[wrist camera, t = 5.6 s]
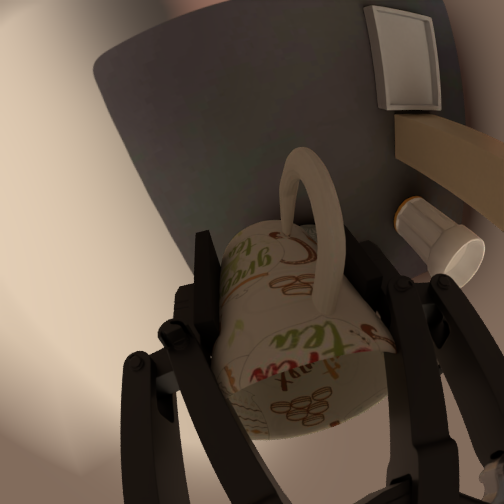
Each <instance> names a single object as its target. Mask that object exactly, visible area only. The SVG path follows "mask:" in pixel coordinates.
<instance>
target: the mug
mask: <svg viewBox="0 0 504 504" xmlns="http://www.w3.org/2000/svg"><path fill="white" fill-rule="evenodd" d="M300 179H301V180H302V182H303V184H304V186H305V188H306V190H307V193H308V196H309V199H310V202H311V206H312V211H313V215H314V220H315V226H316V233H317V242H316V241H315V240H314V239H313V238H312V237H311V236H310V235H309V234H308V233H307V232H306V231H305V230H304V229H302V228H301V227H299V226H298V225H296V224H293V220H294V211H295V202H296V195H297V190H298V184H299V180H300ZM279 194H280V211H281V220H268V221H262V222H258V223H255V224H253V225H251V226H248V227H247V228H245V229H243V230H242V231H240V232H239V233H238V234H237V235H236V236H235V237H234V238H233V239H232V240H231V241H230V242H229V244H228V246H227V247H226V249H225V252H224V254H223V258H222V264H221V271H220V286H219V331H220V335H219V337H218V338H217V340H216V342H215V344H214V346H213V349H212V355H211V366H210V368H211V370H212V372H213V373H214V375H215V377H216V380H217V382H218V385H219V387H220V389H221V391H222V394H223V396H224V398H225V399H227V398H229V400H230V402H231V404H232V405H233V407H234V409H235V411H236V413H237V415H238V417H239V419H240V420H241V422H242V424H243V426H244V428H245V430H246V431H247V433H248V435H249V437H250V438H251V440H276V439H277V440H278V439H286V438H293V437H298V436H303V435H308V434H312V433H315V432H318V431H322V430H325V429H328V428H330V427H334V426H336V425H339V424H341V423H344V422H346V421H348V420H350V419H352V418H354V417H356V416H358V415H360V414H362V413H364V412H365V411H367V410H369V409H370V408H372V407H373V406H375V405H376V404H377V403H379V402H380V401H382V400H383V399H384V398H385V397H387V396H388V390H387V379H386V369H385V361H384V353H383V352H390V353H394V354H397V348H396V344H395V341H394V339H393V337H392V335H391V333H390V331H389V330H388V328H387V327H386V326H385V325H384V323H383V322H382V321H381V319H380V318H379V317H378V316H377V314H376V313H375V312H374V311H373V309H372V308H371V307H370V306H369V304H368V303H367V302H366V301H365V300H364V299H363V298H362V297H361V295H360V294H359V293H358V291H357V290H356V289H355V288H354V286H353V285H352V284H351V283H350V281H349V280H348V279H347V278H346V276H345V275H344V274H343V273H344V265H345V256H346V239H345V231H344V224H343V217H342V213H341V209H340V204H339V200H338V196H337V193H336V190H335V187H334V184H333V182H332V179H331V177H330V174H329V172H328V170H327V168H326V167H325V165H324V163H323V162H322V161H321V159H320V158H319V157H318V156H317V155H316V153H315V152H314V151H312V150H311V149H309V148H306V147H299V148H296V149H294V150H293V151H292V152H291V153H290V154H289V155H288V157H287V159H286V162H285V165H284V170H283V174H282V177H281V181H280V187H279Z"/></svg>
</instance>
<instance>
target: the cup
mask: <svg viewBox="0 0 504 504" xmlns="http://www.w3.org/2000/svg"><path fill="white" fill-rule="evenodd" d="M394 228H395V230H396V231H397V232H398V233H399V234H400V235H401V236H402V237H403V238H404V239H405V240H406V242H407V243H408V244H409V245H410V246H411V247H412V248H413V249H414V251H415V252H416V253H417V254H418V255H419V256H420V257H421V259H422V260H423V261H424V262H425V263H426V265H427V269H428V272H429V274H430V275H431V277H433V276H434V275H435V274H440V273H442V274H446V275H448V276H450V277H451V278H452V279H453V280H454V281H455V282H456V284H457V285H458V286H459V288H461V287H463V286H464V285H465V284H466V283H467V282H468V281H469V280H470V279H471V278H472V277H473V276H474V274H475V273H476V271H477V270H478V268H479V266H480V264H481V262H482V259H483V257H484V251H485V246H484V241H483V240H482V239H481V238H479V237H478V236H477V235H476V234H475V233H473V232H472V231H471V230H470V229H468V228H467V227H465V226H464V225H458V224H456V223H455V222H454V221H452V220H451V219H450V218H449V217H447V216H446V215H445V214H443V213H442V212H440V211H439V210H438V209H436V208H435V207H434V206H432V205H431V204H429V203H428V202H426V200H424V199H423V198H421V197H419V196H412V197H410V198H408V199H406V200H405V201H404V202H403V203H402V204H401V205H400V206H399V208H398V210H397V211H396V213H395V217H394Z"/></svg>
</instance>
